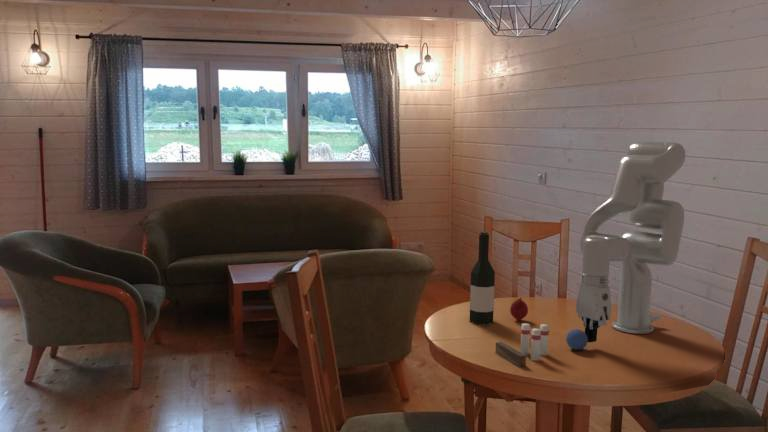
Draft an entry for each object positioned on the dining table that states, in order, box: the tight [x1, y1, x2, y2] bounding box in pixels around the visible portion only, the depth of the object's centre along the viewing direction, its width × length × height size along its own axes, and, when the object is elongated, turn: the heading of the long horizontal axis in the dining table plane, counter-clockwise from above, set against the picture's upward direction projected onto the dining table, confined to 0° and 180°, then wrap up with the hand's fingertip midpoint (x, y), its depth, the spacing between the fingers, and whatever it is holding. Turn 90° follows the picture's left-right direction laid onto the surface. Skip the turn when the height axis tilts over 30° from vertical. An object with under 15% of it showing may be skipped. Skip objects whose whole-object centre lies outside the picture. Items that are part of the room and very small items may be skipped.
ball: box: [565, 328, 589, 351], centre depth 189 cm, size 6×6×6 cm
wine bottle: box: [469, 230, 496, 326], centre depth 214 cm, size 8×8×30 cm
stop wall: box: [495, 341, 527, 368], centre depth 180 cm, size 2×12×3 cm, turn 22°
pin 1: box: [519, 322, 531, 356], centre depth 185 cm, size 2×2×8 cm
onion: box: [509, 296, 529, 321], centre depth 216 cm, size 6×6×8 cm
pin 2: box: [530, 328, 541, 362], centre depth 180 cm, size 2×2×8 cm
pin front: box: [539, 323, 550, 357], centre depth 184 cm, size 2×2×8 cm
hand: (590, 341), depth 190 cm, fingers closed
